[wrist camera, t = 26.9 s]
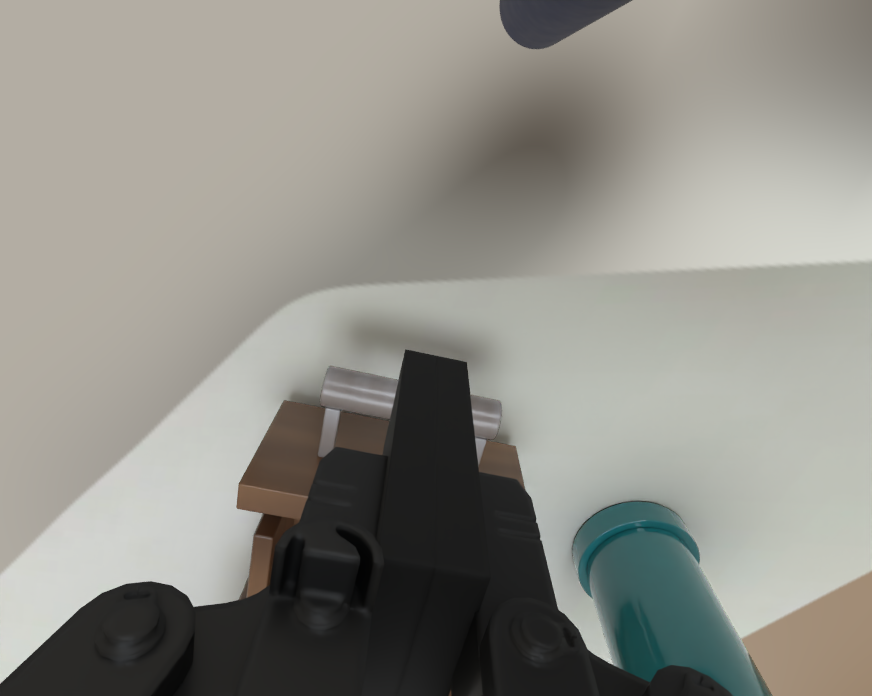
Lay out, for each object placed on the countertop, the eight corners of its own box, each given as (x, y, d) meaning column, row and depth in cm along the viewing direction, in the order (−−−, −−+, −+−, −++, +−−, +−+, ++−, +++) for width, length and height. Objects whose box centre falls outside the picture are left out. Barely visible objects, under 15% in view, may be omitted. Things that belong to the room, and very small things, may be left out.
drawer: (293, 322, 24) (247, 390, 18) (540, 374, 25) (569, 453, 19) (254, 625, 32) (213, 739, 26) (444, 656, 33) (444, 773, 27)
